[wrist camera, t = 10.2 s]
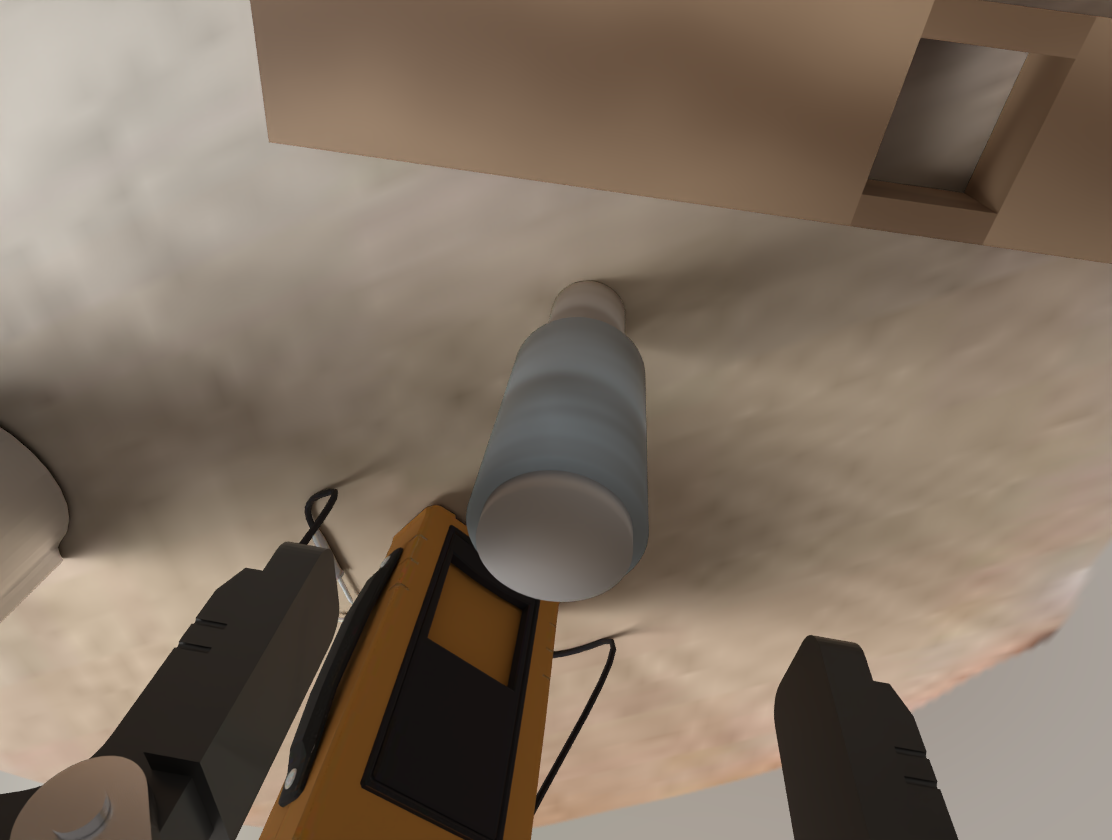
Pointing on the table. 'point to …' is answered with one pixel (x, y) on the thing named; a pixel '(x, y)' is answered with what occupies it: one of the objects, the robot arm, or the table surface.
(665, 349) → the table surface
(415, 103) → the bar
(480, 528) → the grey stepped cylinder
